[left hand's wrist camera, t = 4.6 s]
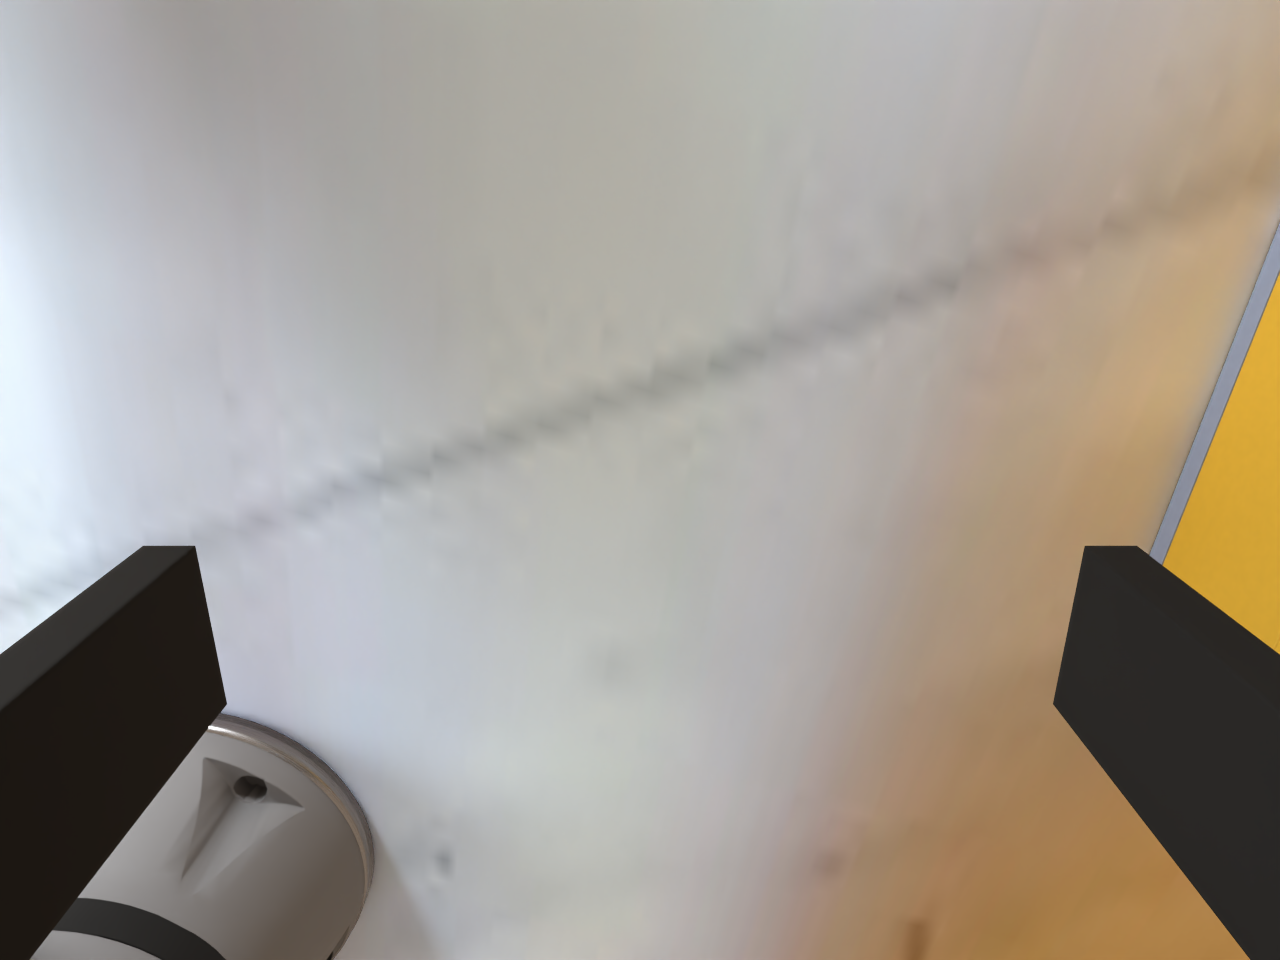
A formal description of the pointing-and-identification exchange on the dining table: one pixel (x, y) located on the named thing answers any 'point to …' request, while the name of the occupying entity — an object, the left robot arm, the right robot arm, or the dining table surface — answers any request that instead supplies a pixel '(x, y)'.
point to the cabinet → (1236, 477)
